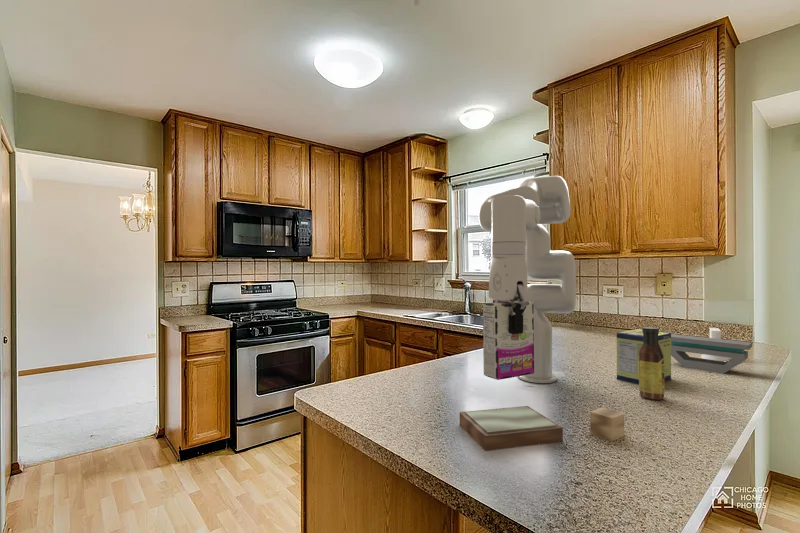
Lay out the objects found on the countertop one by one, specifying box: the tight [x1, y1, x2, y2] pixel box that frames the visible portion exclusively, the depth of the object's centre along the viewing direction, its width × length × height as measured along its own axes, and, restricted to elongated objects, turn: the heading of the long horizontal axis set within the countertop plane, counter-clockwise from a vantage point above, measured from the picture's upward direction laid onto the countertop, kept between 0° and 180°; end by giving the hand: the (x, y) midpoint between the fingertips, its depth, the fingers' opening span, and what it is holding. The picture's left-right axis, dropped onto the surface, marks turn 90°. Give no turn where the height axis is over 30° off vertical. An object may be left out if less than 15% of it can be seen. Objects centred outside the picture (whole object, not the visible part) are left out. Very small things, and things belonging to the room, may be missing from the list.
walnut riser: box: [459, 405, 564, 452], centre depth 92 cm, size 14×18×3 cm
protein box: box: [616, 328, 672, 385], centre depth 136 cm, size 10×16×16 cm
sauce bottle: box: [638, 326, 666, 401], centre depth 117 cm, size 6×6×20 cm
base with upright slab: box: [700, 327, 730, 361], centre depth 164 cm, size 9×9×12 cm
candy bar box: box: [482, 302, 534, 381], centre depth 92 cm, size 11×5×16 cm, turn 117°
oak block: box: [589, 406, 625, 442], centre depth 91 cm, size 5×5×5 cm
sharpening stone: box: [671, 333, 753, 374], centre depth 149 cm, size 25×8×11 cm, turn 42°
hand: (508, 330), depth 92 cm, fingers closed on candy bar box, 5 cm apart
